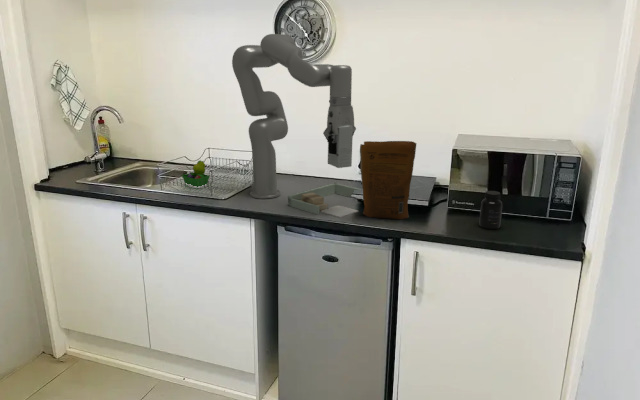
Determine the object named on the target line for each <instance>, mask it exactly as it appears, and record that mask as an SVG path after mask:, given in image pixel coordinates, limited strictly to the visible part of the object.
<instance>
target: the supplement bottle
mask: <svg viewBox="0 0 640 400" xmlns="http://www.w3.org/2000/svg"><path fill="white" fill-rule="evenodd" d="M479 211H480V212H479V220H478V221H479V223H478V225H479V227H481V228H483V229H486V230H497V229H499V228H500V227H501V222H502V221H501V220H502V213H503V202H502V201H501V192H499V191H496V190H487V191H485V193H484V199H482V200H481V202H480V210H479Z"/></svg>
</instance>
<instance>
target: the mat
mask: <svg viewBox="0 0 640 400" xmlns="http://www.w3.org/2000/svg"><path fill="white" fill-rule="evenodd" d="M320 213H323V214H327V215H329V216H333V217H336V218H339V219H341V218H344V217H348V216H350V215H352V214H355V213H359V210H358V209H354V208H350V207H346V206H343V205H334V206H331V207H329V208H328V209H325V210H321V211H320Z"/></svg>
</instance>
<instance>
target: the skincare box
mask: <svg viewBox="0 0 640 400" xmlns="http://www.w3.org/2000/svg"><path fill="white" fill-rule="evenodd" d="M333 134H334V133H333ZM353 136H354V135H353V126H350V125H347V126H342V127H339V135H338V136H337V135H336V141H335V143H336V154H330V153H329V142H327V164H328V165H330V166H333V167H335V168H337V169H342V168H351V167H352V160H353ZM333 137H334V136H332V138H333Z"/></svg>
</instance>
